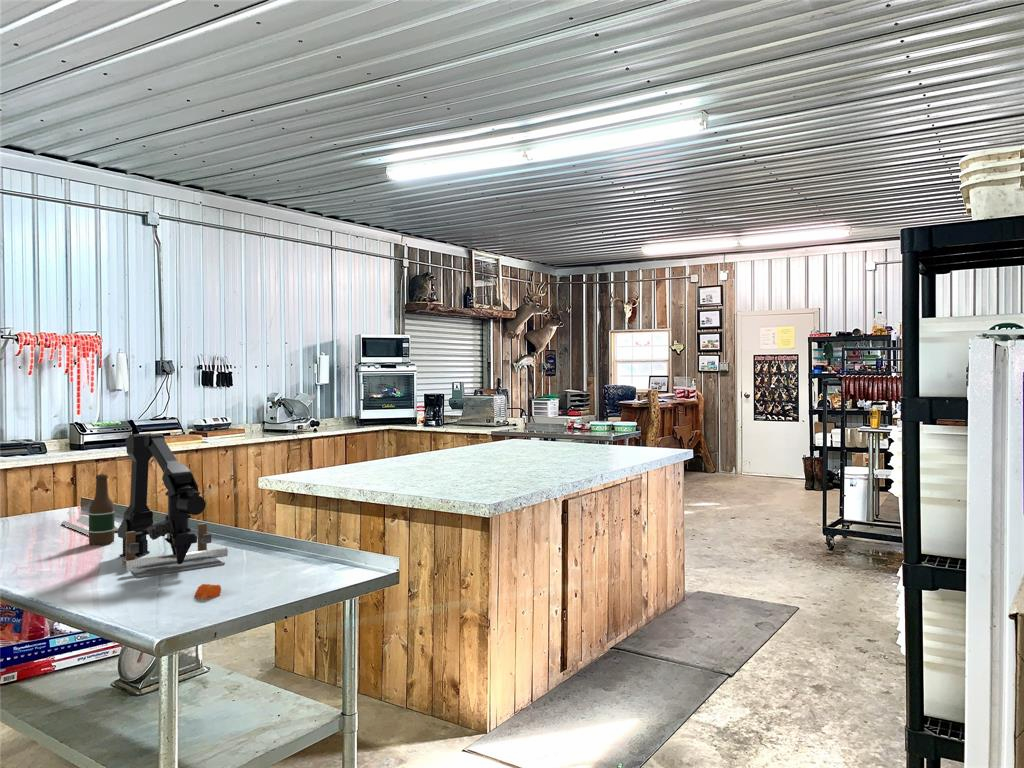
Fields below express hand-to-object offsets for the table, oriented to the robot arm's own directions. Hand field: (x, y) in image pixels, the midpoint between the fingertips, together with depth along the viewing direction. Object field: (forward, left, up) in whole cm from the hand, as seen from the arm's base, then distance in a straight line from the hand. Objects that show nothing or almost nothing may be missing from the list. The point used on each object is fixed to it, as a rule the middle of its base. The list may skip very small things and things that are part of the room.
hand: (178, 562), depth 216 cm
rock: (+24, -25, -2) cm, 34 cm away
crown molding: (-68, +51, -2) cm, 85 cm away
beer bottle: (-46, +28, -2) cm, 54 cm away
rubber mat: (0, 0, -2) cm, 2 cm away
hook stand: (-8, +8, -2) cm, 11 cm away
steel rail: (0, 0, 0) cm, 0 cm away
